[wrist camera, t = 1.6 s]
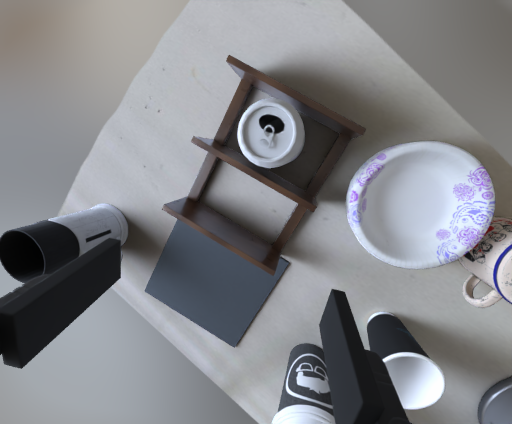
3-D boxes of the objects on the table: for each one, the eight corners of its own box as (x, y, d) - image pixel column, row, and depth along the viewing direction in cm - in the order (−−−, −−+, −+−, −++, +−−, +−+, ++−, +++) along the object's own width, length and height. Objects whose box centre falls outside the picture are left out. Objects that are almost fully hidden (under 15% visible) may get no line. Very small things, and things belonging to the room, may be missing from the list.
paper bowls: (339, 151, 37) (346, 150, 30) (459, 136, 34) (502, 130, 26) (344, 250, 40) (352, 273, 32) (455, 246, 37) (494, 269, 29)
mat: (289, 262, 42) (289, 263, 42) (235, 346, 48) (234, 347, 47) (186, 201, 44) (185, 201, 43) (145, 290, 49) (144, 291, 49)
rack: (354, 134, 36) (366, 129, 29) (279, 254, 42) (273, 276, 35) (245, 75, 38) (228, 54, 30) (187, 199, 44) (161, 209, 36)
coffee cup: (270, 348, 46) (253, 435, 32) (316, 326, 44) (319, 410, 29) (300, 389, 47) (297, 492, 33) (347, 370, 44) (365, 473, 30)
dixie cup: (416, 309, 40) (456, 364, 29) (402, 351, 42) (434, 418, 31) (363, 297, 41) (382, 346, 30) (352, 339, 43) (366, 399, 32)
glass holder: (90, 196, 47) (-5, 214, 33) (159, 224, 46) (90, 256, 31) (83, 238, 49) (-8, 272, 35) (149, 266, 48) (80, 314, 34)
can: (313, 122, 37) (315, 107, 26) (294, 171, 39) (288, 178, 28) (264, 106, 38) (245, 84, 26) (248, 155, 40) (224, 155, 28)
